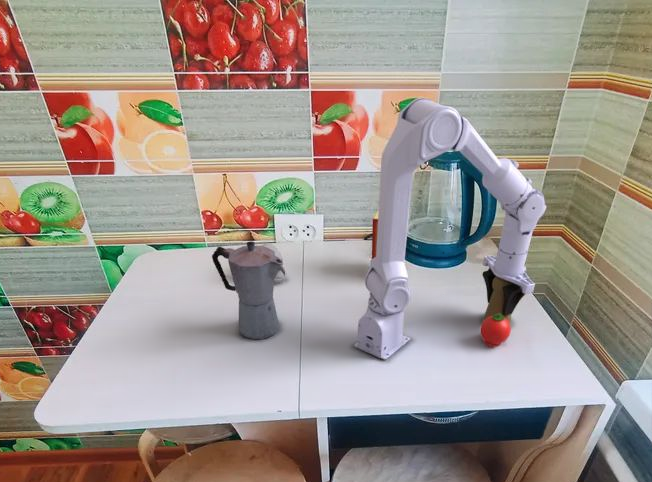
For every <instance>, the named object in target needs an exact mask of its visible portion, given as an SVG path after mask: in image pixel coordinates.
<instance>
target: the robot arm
mask: <svg viewBox="0 0 652 482" xmlns="http://www.w3.org/2000/svg"><path fill="white" fill-rule="evenodd" d="M450 150H452V151H454V152H459V153H460V154H462V156H464V157H465V158H466V159H467V160H468V161H469V162H470V163H471V164H472V165H473V166H474V167H475V168H476V169H477V170H478V171H480V172H481V173H482V179H481V182H482V186H483V187H484V188H485V189H486V190H487V191H488V192H489V193H490V195H492V197H493V198H495V200H497V202H498V203H500V208H501V209H502V211H505V214H504V219H503V223H502V227H501V234H500V239H499V242H498V243H499V244H498V247H497V252H496V256H494V255H492V254H490V255H485V256H484V257H483V261H482V265H483V266H484V267H488V269H487V270H485V271H483V272H482V275H481V276H482V277H483V280H484V283H485V287H486V288H485V289H486V299H487V300H486V301H487V304H489V301H490V298H491V296H492V293H493V290H494V289H493V287H492V283H493V279H494V278H495V277H496V276H498V277H500V278H502V279H505V280H507V281H510V282H512V284H511V285H507V286H503V287H502V289H503V293H504V303H503V309H502V314H503V315H504V316H506V315H510V314H511V315H513V313H514V311H515V309H516V308H517V306H518V304H519V302H520V301H521V300H522V299H523V298H524V296H525V295H527V294H532V293H534V291H535V286H536V283H535V282H533V281H532V280H531V278H530V277H529V275H528V274H527V273H526V271H527V267H526V266H525V264H526V261H527V257H528V253H529V248H530V245H531V240H532V236H533V232H534V230H535V229H536V228H537V223H538V221H539V220H540V219H541V218H542V217H543V215H544V214H545V212H546V209H547V205H546V202H545V201H546V200H545V196H544V194H543V192H541V191H540V190H537V189H536V188H533V187H532V184H533V181H532V180H531V178H529V177H525V176H524V175H523V174H522V173H521V172H520V170H519V169H518V168H519V167H520V164H519V163H518V161H517V160H514V159H512V158H511V159H509V158H506V157H505V158H504V157H502V158H498V157H497V156H496V154H495V153H494V152H493V150H492V149H491V148H490V147H489V145H488V144H486V142H485V141H484V139H483V138H482V137H481V135H479V133H478V132H477V131H476V130H475V128H474V127H473V125H472V124H471V123H470V121H469V120H468V119H467V118H465V117H463V115H460V113H459V111H457V110H456V109H455V108H454V107H452V106H448V105H443V104H440V103H437V102H435V101H433V100H431V99H429V97H428V98H427V97H417V98H415V99H414V100H412V101H410V102H409V103H408V104H407V105H406V106H405V107H403V109H402V110H400V111H399V113H398V115H397V123H396V125H395V127H394V128H393V131H392V133H391V135H390V137H389V139H388V141H387V143H386V145H385V147H384V149H383V151H382V154H381V159H380V160H381V161H380V177H379V178H380V180H379V197H378V199H379V200H378V210H379V213H378V231H377V248H376V257H375V258H373V259H372V258H371V259H370V263H369V268H368V271H367V273H366V275H365V278H364V285H365V288H366V289H367V291H368V292H369V298H368V302H367V303H368V304H367V308H366V311H365V312H364V314H363V315H362V316H361V317H360V318H359V320H358V321H357V322H358V323H357V342H356V343H354V348H356V349H358V350H361V351H364V352H365V353H368V354H370V355H372V356H374V357H377V358H379V359H382V361H383V360H384V361H386V360H388V359H389V358H390V357H391V356H392V355H394V354H395V353H396V352H397V351H399V350H400V349H401V348H402V347H403V346H404V345H406V344H407V343H408V342H409V341H411V337H409V336H407V335H405V334H403V331H404V317H405V309H406V308H407V307H408V306H409V304H410V302H411V299H412V293H411V290H410V288H409V274H408V271H407V270H408V269H407V267H406V262H405V261H406V260H405V259H406V248H407V239H408V238H407V237H408V228H409V219H410V207H411V199H412V198H411V197H412V187H413V177H414V172H415V171H416V170H417V169H419V167H420V166H421V165H423V163H425V162H427V161H429V160H432V159H435V158H436V157H438V156H441V155H442V154H445V153H447V152H448V151H450Z"/></svg>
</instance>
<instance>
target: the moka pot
mask: <svg viewBox="0 0 652 482" xmlns="http://www.w3.org/2000/svg"><path fill="white" fill-rule="evenodd" d="M220 256H221V257H223V258H224V259H227V261H228V266H229V269H230V274H231V277H232V281H233V284H234V285H231V284H230V282H229V281H228V279H227V278H226V277H227V276H226V274H225V272H224V269H223V267H222V264H221V262H220V260H219V257H220ZM211 258H212V262H213V264H214V267H215V269H216V270H217V273H218V274H219V276H220V278H221V281H222V283H223V285H224V287H225V289H226V290H228V291H232V292H236V294H237V295H238V322H237V323H238V325H237V328H238V332H239V334H241V335H242V336H243V337H244V338H248V339H253V340H262V339H263V340H264V339H268V338H270V337H272V336H274V335H275V334H276V333H277V332H278V331H279V328H280V326H279V324H280V323H279V318H278V314H277V308H276V304H275V303H276V302H275V299H274V291H275V290H274V288H275V284H274V280H275V279H276V278H277V275H278V273H279V271H278V270H279V268H280V266H281V265H283V266H284V260H283V261H282V260H281V259H280V258H278V257H276V256H275V251H273V250H271V249H269V248H266V247H264V246H261V245H256V242H254V241H247V242H246V245H244V246H241V247H238V248H235V249H233V248H229V247H228V248H225V247H222V246H217V248H216V249H215V250H214V251H213V254H211Z"/></svg>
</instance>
